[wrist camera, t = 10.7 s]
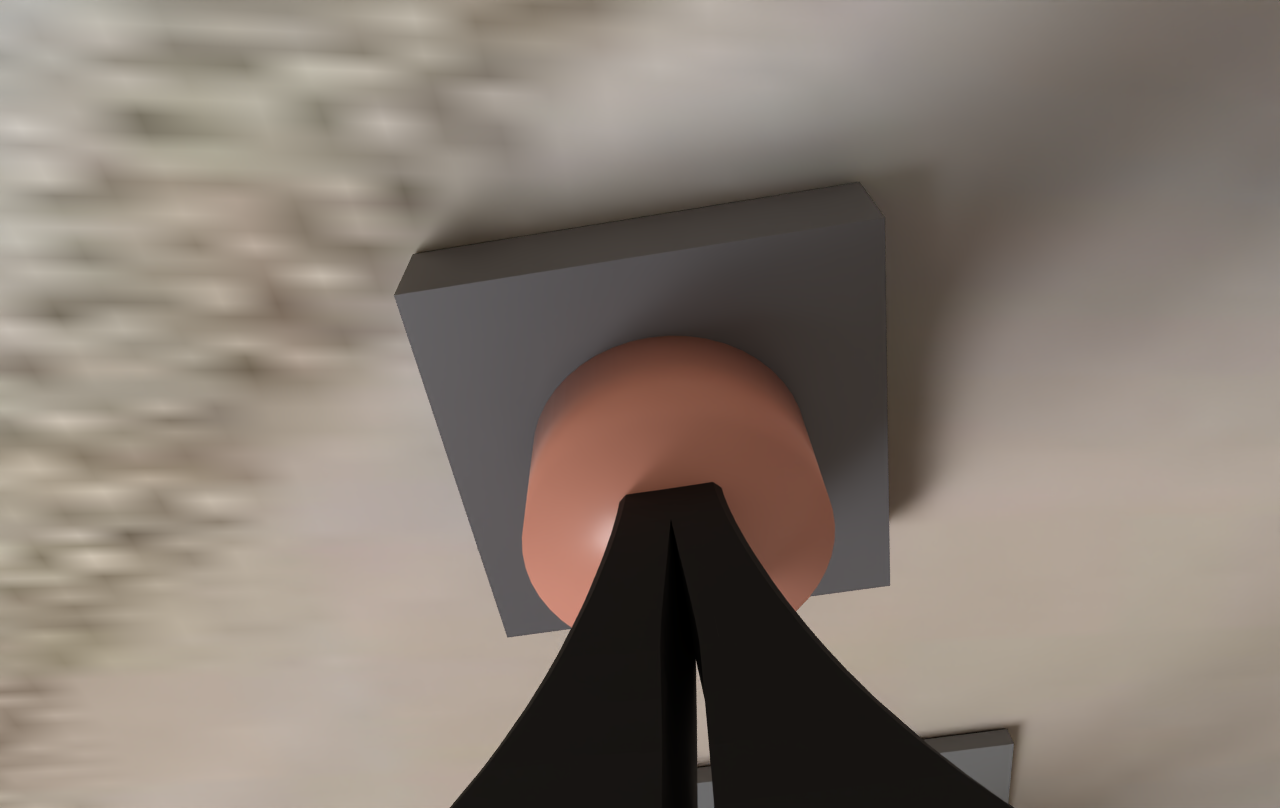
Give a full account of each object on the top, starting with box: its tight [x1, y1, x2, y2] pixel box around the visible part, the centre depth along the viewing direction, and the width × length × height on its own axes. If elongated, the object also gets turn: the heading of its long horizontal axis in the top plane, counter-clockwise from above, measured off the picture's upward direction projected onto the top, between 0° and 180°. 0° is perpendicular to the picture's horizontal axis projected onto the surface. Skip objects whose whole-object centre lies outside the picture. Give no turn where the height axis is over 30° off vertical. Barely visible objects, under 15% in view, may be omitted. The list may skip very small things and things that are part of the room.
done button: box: [522, 336, 835, 628], centre depth 14 cm, size 4×4×2 cm
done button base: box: [394, 182, 890, 637], centre depth 15 cm, size 7×7×2 cm
